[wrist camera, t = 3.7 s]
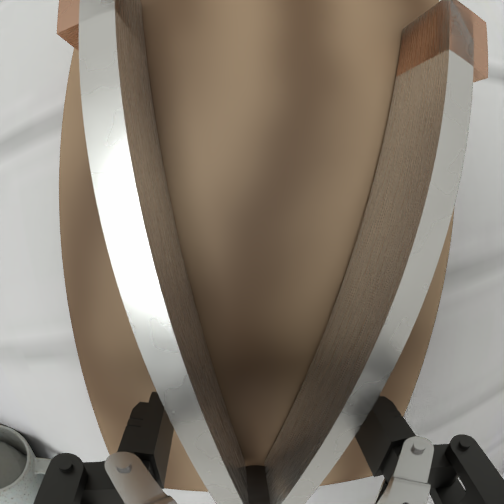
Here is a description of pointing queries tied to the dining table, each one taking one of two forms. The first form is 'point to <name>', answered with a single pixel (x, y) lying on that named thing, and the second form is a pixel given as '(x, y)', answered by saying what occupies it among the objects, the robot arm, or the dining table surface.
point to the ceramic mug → (19, 469)
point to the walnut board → (247, 206)
